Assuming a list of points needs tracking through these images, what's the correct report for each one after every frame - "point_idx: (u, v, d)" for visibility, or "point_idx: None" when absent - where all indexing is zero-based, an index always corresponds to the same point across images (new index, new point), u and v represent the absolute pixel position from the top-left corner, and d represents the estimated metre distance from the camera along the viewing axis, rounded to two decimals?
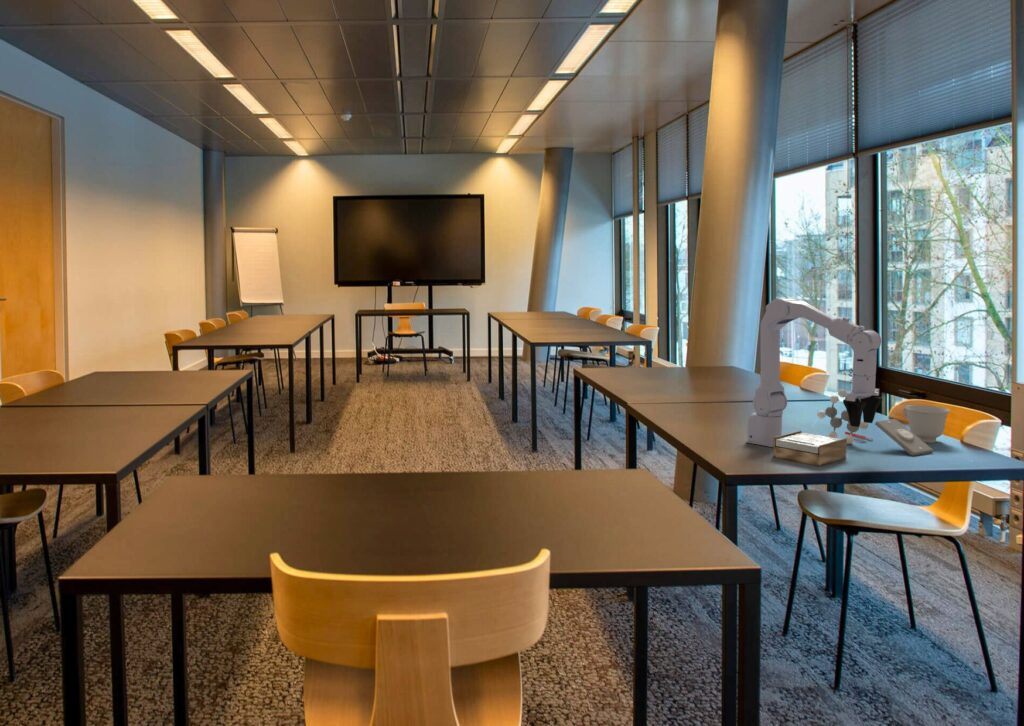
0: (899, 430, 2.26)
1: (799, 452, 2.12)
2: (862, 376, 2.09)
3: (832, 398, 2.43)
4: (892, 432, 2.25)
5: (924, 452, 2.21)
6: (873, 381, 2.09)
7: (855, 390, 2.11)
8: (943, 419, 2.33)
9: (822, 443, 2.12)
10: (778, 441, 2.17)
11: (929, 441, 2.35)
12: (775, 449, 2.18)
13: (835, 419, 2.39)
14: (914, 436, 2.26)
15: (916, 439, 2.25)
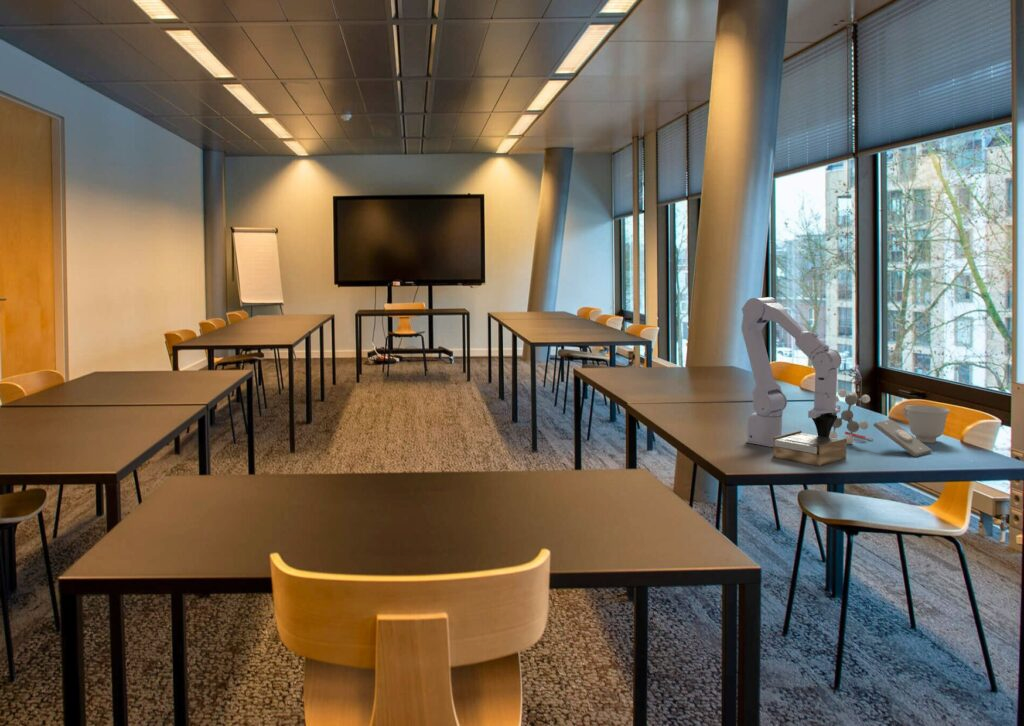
0: (898, 431, 2.25)
1: (799, 452, 2.12)
2: (823, 394, 2.18)
3: None
4: (892, 434, 2.24)
5: (924, 452, 2.20)
6: (834, 399, 2.18)
7: (817, 407, 2.20)
8: (943, 419, 2.33)
9: (821, 443, 2.12)
10: (777, 441, 2.17)
11: (929, 441, 2.35)
12: (775, 449, 2.18)
13: None
14: (912, 436, 2.26)
15: (914, 440, 2.25)
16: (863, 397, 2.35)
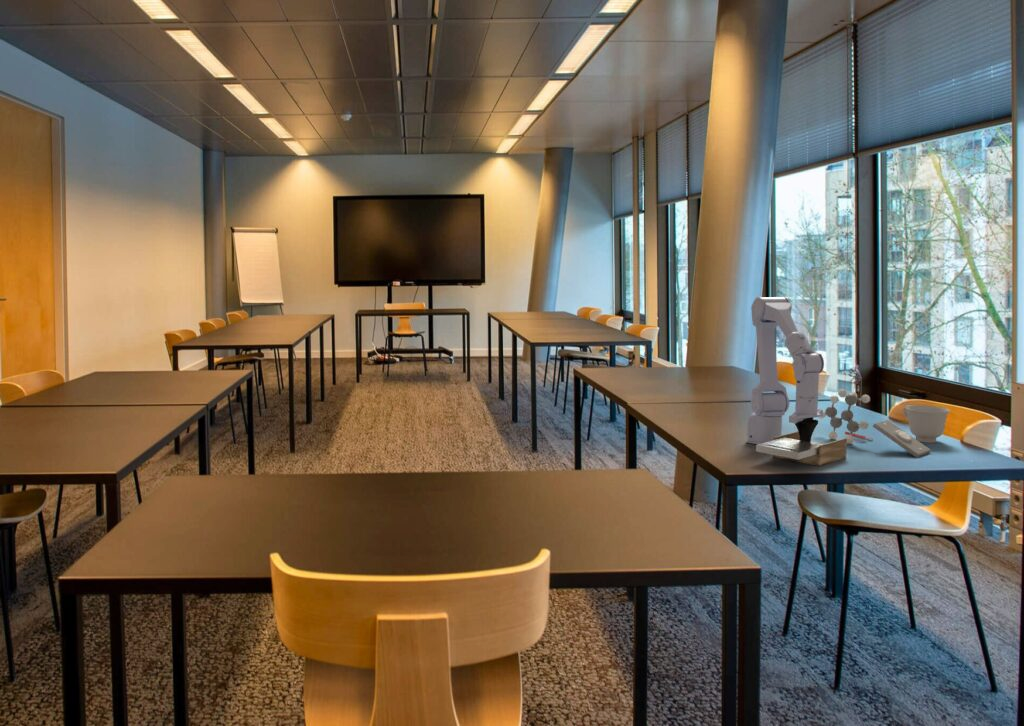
0: (897, 431, 2.24)
1: None
2: (804, 398, 2.12)
3: (832, 398, 2.43)
4: (892, 434, 2.23)
5: (925, 453, 2.20)
6: (815, 403, 2.12)
7: (798, 412, 2.13)
8: (943, 419, 2.33)
9: (803, 449, 2.06)
10: (758, 446, 2.11)
11: (929, 441, 2.35)
12: None
13: (835, 419, 2.39)
14: (910, 437, 2.25)
15: (913, 440, 2.24)
16: (863, 397, 2.35)
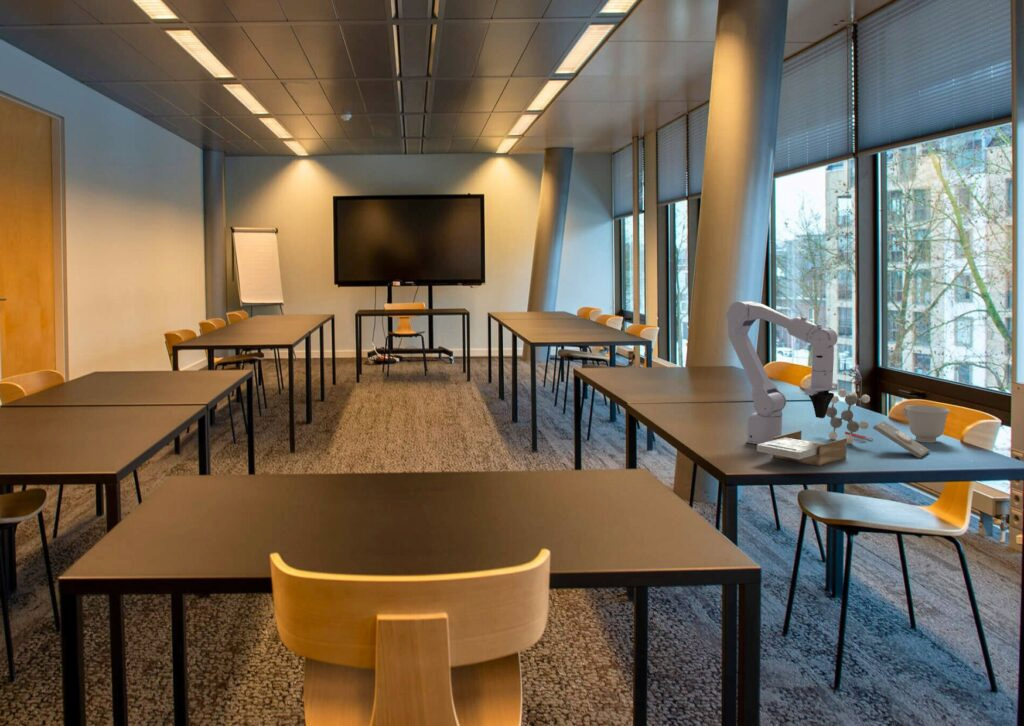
0: (897, 432, 2.23)
1: None
2: (820, 371, 2.20)
3: (832, 398, 2.43)
4: (893, 436, 2.21)
5: (925, 453, 2.20)
6: (830, 376, 2.20)
7: (814, 385, 2.22)
8: (943, 419, 2.33)
9: (804, 448, 2.06)
10: (759, 446, 2.11)
11: (929, 441, 2.35)
12: None
13: (835, 419, 2.39)
14: None
15: (912, 440, 2.23)
16: (863, 397, 2.35)
